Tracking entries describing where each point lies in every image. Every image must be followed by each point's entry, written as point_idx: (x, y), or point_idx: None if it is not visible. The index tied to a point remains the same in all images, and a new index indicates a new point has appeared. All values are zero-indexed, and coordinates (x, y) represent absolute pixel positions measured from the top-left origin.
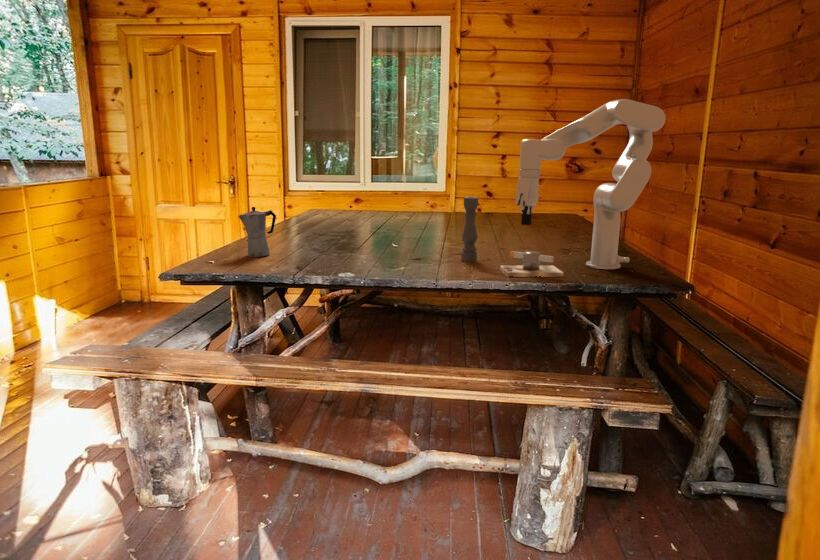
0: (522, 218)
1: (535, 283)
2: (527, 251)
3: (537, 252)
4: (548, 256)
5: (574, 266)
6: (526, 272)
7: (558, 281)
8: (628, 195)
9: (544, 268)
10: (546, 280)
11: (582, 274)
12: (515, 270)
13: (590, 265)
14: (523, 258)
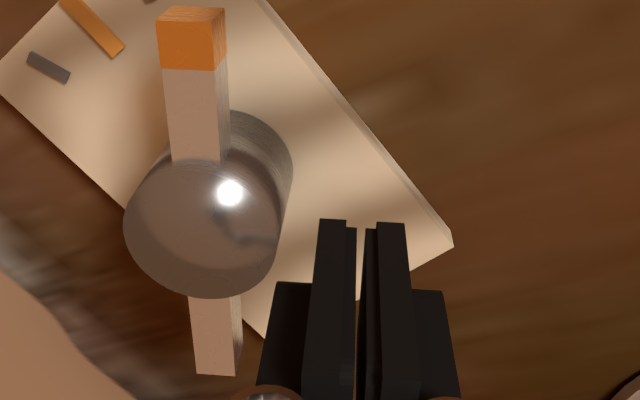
0: (313, 305)
1: (8, 266)
2: (221, 191)
3: (240, 271)
4: (199, 352)
5: (632, 305)
6: (101, 183)
7: (149, 337)
8: None
9: (310, 233)
10: (121, 288)
11: None
12: (94, 97)
13: (631, 392)
14: (159, 159)
